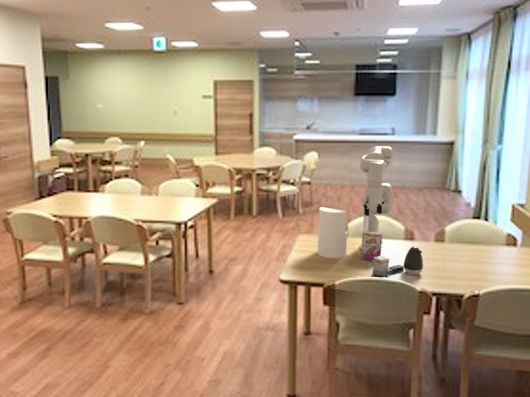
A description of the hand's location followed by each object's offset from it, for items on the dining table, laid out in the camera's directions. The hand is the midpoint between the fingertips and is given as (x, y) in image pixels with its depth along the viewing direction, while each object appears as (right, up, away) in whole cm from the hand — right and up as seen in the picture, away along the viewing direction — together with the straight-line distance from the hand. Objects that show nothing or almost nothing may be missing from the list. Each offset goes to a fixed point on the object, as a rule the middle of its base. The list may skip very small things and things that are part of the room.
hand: (372, 214), depth 279 cm
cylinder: (-19, -25, +27) cm, 42 cm away
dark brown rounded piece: (+21, -33, -4) cm, 39 cm away
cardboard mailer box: (+2, -30, -9) cm, 31 cm away
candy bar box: (+3, -27, +18) cm, 33 cm away
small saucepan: (+7, -32, -5) cm, 33 cm away
